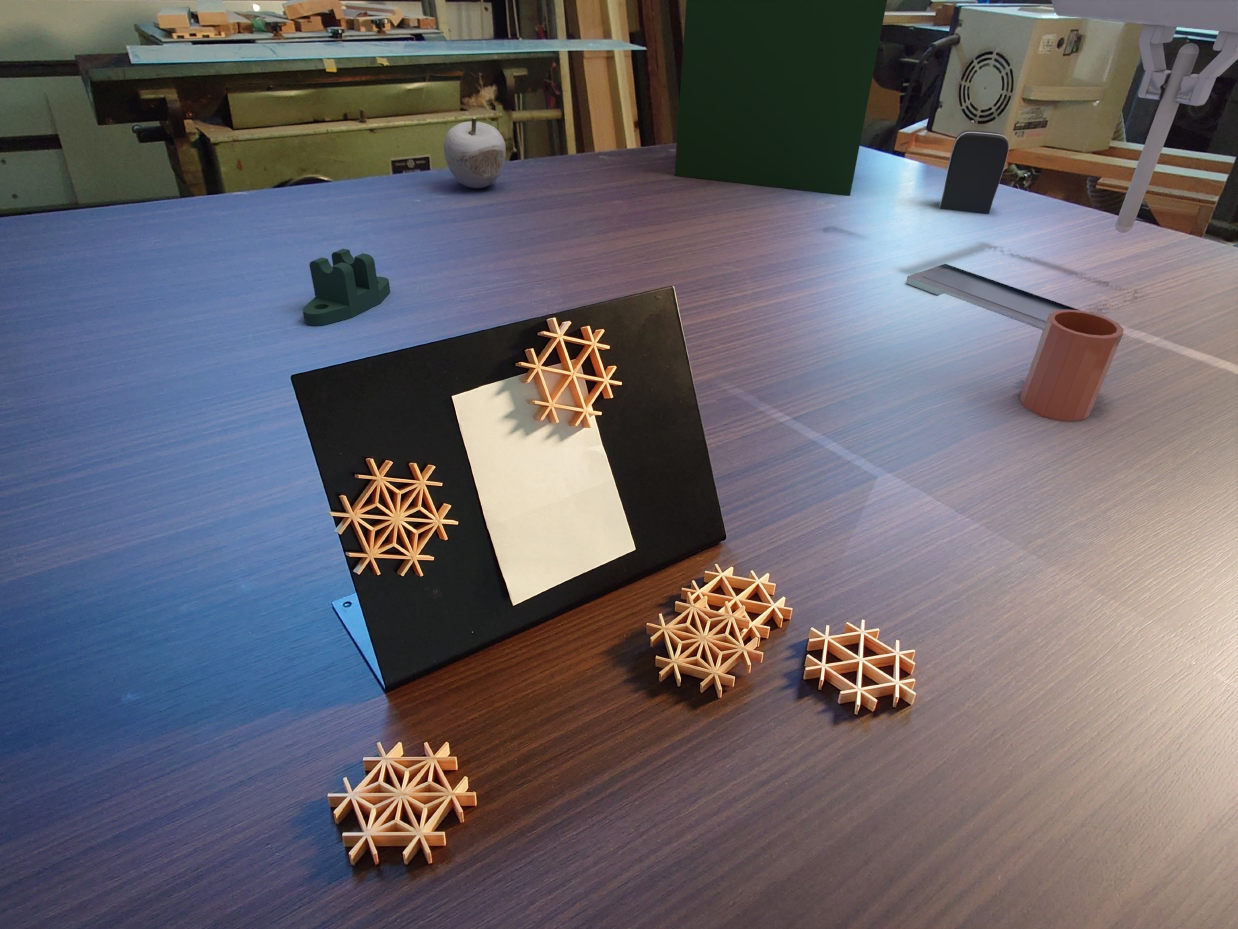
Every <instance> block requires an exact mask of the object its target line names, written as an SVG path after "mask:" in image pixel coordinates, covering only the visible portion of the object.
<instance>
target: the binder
mask: <svg viewBox="0 0 1238 929" xmlns="http://www.w3.org/2000/svg"><path fill="white" fill-rule="evenodd" d="M887 3H888V0H685V14H684V30H683V41H682V56H681V57H682V58H681V60H682V61H681V74H680V88H679V100H678V101H679V102H678V116H677V117H678V118H677V132H676V144H675V145H676V147H675V160H674V161H675V162H674V176H676V177H685V178H694V179H701V180H703V179H704V180H711V181H719V182H729V183H736V184H737V183H738V184H745V185H753V186H754V185H755V186H764V187H772V188H780V189H787V190H797V191H805V192H806V191H807V192H815V193H823V194H824V193H825V194H832V195H840V194H841V195H840V196H848V195H850V196H851V193H852V187H853V182H854V177H855V172H856V166H857V161H858V157H859V156H858V155H859V152H860V147H861V146H860V145H861V140H862V135H863V130H864V124H865V119H866V115H867V110H868V103H869V99H870V93H871V88H872V84H873V78H874V71H875V66H876V62H877V55H878V51H879V47H880V46H879V45H880V41H881V40H880V39H881V34H882V30H883V25H884V19H885V13H886V8H887Z"/></svg>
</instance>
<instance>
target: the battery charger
mask: <svg viewBox="0 0 1238 929" xmlns="http://www.w3.org/2000/svg"><path fill="white" fill-rule="evenodd" d="M1009 151H1010V142H1009V139H1008V138H1007V136H1005V135H1004V134H1002V133H999V132H996V131H995V132H994V131H986V130H974V129H973V130H971V129H970V130H969V129H967V130H964V131H961V132H960V133H959V134H958V135H957V136H956V137H955V139H954V142H953V145H952V149H951V152H950V156H949V160H948V164H947V168H946V174H945V177H944V178H945V179H944V184H943V189H942V194H941V198H940V202H939V206H938V208H939V209H940V210H946V211H954V212H955V211H956V212H963V213H964V212H965V213H971V214H972V213H973V214H982V215H990V213H991V210H992V207H993V202H994V200H995V198H996V194H997V191H998V189H999V185H1000V184H1001V183H1000V182H1001V179H1002V176H1003V172H1004V170H1005V166H1006V163H1007V160H1008V156H1009Z"/></svg>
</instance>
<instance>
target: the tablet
mask: <svg viewBox="0 0 1238 929" xmlns="http://www.w3.org/2000/svg"><path fill="white" fill-rule="evenodd" d="M905 284H907V285H909V286H911V287H913V288H917V289H920V290H923V291H924V292H928V293H930V294H933V295H936V296H940V295H943V294H946V295H949V296H951V297H954V298H956V299H959V300H962V301H964V302H967V303H970V304H973V305H976V306H978V307H980V308H983V309H986V310H989V311H992V312H994V313H997V314H999V315H1002V316H1005V317H1008V318H1011V319H1014V320H1016V321H1018V322H1022V323H1024V324H1026V325H1029V326H1031V327H1035V328H1037V329H1040V330H1042V331H1043V330H1044V327H1045V324H1046V321H1047V319H1048V316H1049V314H1050V313H1051V312H1054V311H1056V310H1066V309H1067V310H1068V309H1069V310H1079V309H1078V308H1076V307H1073V306H1070V305H1066V304H1063V303H1060V302H1058V301H1055V300H1052V299H1049V298H1046V297H1043V296H1041V295H1038V294H1035V293H1033V292H1032V293H1031V292H1029V291H1026V290H1023V289H1020V288H1017V287H1014V286H1011V285H1009V284H1007V283H1006V284H1005V283H1002V282H999V281H997V280H993V279H990V278H989V277H985V276H982V275H979V274H976V273H973V272H970V271H968V270H965V269H962V268H959V267H956V266H953V265H950V264H947V263H943V264H940V265H937V266H934V267H931V268H928V269H925V270H921V271H918V272H916V273H913V274H910V275H907V277H906V280H905Z"/></svg>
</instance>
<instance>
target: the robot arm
mask: <svg viewBox="0 0 1238 929" xmlns="http://www.w3.org/2000/svg"><path fill="white" fill-rule="evenodd" d="M1050 1H1051V4H1052V7H1053V10H1054V12H1055V14H1056V16H1058V17H1067V18H1077V19H1087V20H1099V21H1108V22H1109V21H1110V22H1120V23H1129V24H1140V25H1143V27H1142V30H1141V33H1140V36H1139V39H1138V41H1137V43H1138V48H1139V52H1140V53H1139V54H1140V57H1141V58H1140V59H1141V62H1142V66H1143V70H1144V71H1145V72H1144V75H1143V78H1142V81H1141V83H1140V86H1139V89H1138V92H1137V96H1138V98H1143V99H1150V100H1158V101H1161V98H1162V96H1163V93H1164V90H1165V88H1166V85H1167V82H1168V79H1169V77H1170V74H1171V71H1172V70H1171V69H1169V70H1168V69H1167V64H1166V56H1165V50H1164V44H1167V43H1171V42H1172V41H1173V40H1174V36H1175V34H1176V31H1177V28H1182V29H1184V28H1185V29H1193V30H1203V31H1215V32H1217V35H1216V38H1215V41H1214V43H1213V46H1212V50H1213V51H1219V53H1218V54H1217V55H1216V57H1214V58H1213V59H1212V61H1210V63H1208V64H1207V65H1206V66H1205V68H1203V69H1202V71H1201V72H1199V73H1191V74H1190V75H1186V76H1184V77H1183V80H1182V82H1181V85H1180V88H1181V90H1180V91H1179V92H1178V93H1177V96H1176V99H1175V101H1176V102H1177V103H1179V104H1184V105H1189V106H1195V107H1198V106H1199V107H1200V106H1203V105H1205V104H1206V102H1207V101H1208V100H1209V97H1210V94H1211V93H1212V90H1213V87H1214V85H1215V82H1216V79H1217V77H1220V76H1221V75H1223V73H1225V71H1227V70H1228V69H1229V68H1230V67H1231V66H1232V65H1233V64H1234V63H1235V62H1236V61H1237V60H1238V0H1050Z"/></svg>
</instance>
